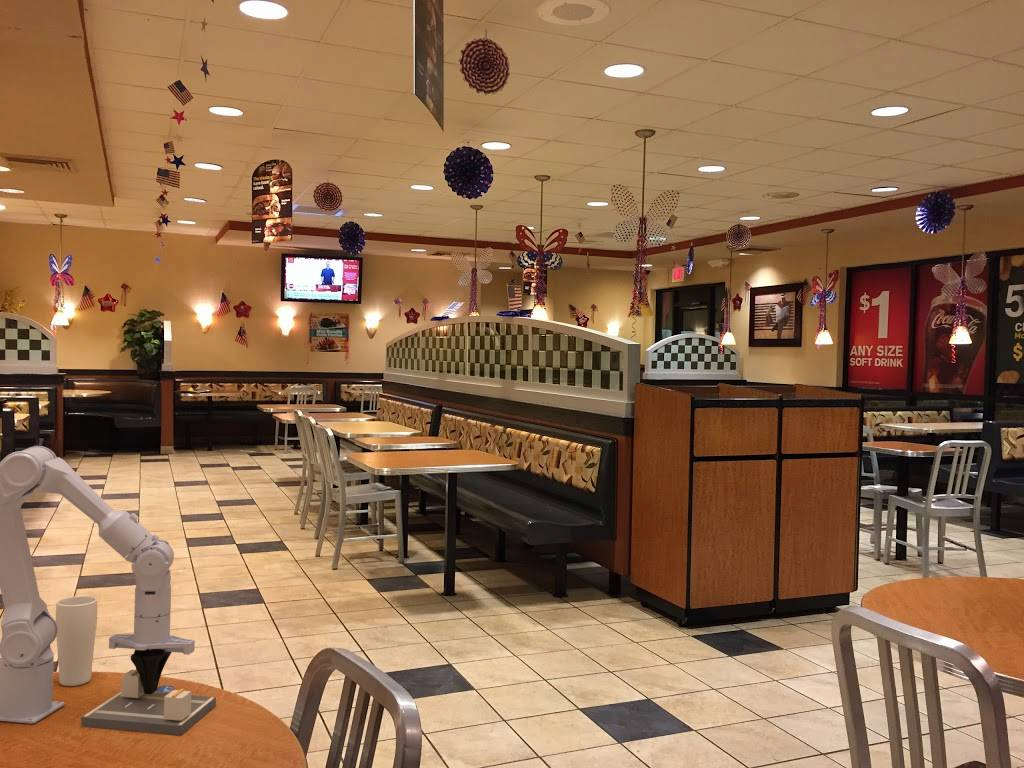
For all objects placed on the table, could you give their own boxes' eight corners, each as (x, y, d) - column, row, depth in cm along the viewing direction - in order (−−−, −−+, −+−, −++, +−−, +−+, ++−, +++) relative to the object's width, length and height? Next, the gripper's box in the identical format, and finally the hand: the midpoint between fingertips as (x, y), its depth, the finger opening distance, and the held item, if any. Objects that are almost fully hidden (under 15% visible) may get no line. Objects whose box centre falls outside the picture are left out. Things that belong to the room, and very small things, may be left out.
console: (81, 726, 138) (81, 716, 138) (123, 697, 149) (123, 689, 149) (180, 735, 136) (180, 725, 135) (215, 705, 147) (216, 696, 147)
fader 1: (121, 696, 145) (121, 674, 145) (131, 690, 148) (131, 667, 148) (137, 698, 145) (138, 675, 145) (147, 691, 148) (147, 669, 148)
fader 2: (163, 719, 137) (164, 695, 137) (173, 711, 140) (173, 688, 140) (181, 720, 137) (182, 696, 136) (190, 713, 140) (191, 689, 139)
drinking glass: (78, 690, 152) (80, 607, 152) (45, 686, 153) (47, 603, 153) (104, 677, 159) (105, 597, 158) (72, 673, 160) (73, 594, 160)
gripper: (98, 617, 143) (97, 697, 143) (180, 623, 141) (178, 704, 141) (123, 605, 150) (121, 682, 150) (201, 611, 148) (199, 688, 148)
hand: (150, 692), depth 146 cm, fingers closed
